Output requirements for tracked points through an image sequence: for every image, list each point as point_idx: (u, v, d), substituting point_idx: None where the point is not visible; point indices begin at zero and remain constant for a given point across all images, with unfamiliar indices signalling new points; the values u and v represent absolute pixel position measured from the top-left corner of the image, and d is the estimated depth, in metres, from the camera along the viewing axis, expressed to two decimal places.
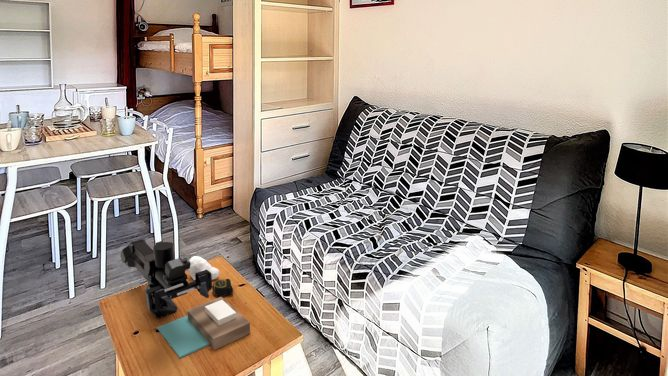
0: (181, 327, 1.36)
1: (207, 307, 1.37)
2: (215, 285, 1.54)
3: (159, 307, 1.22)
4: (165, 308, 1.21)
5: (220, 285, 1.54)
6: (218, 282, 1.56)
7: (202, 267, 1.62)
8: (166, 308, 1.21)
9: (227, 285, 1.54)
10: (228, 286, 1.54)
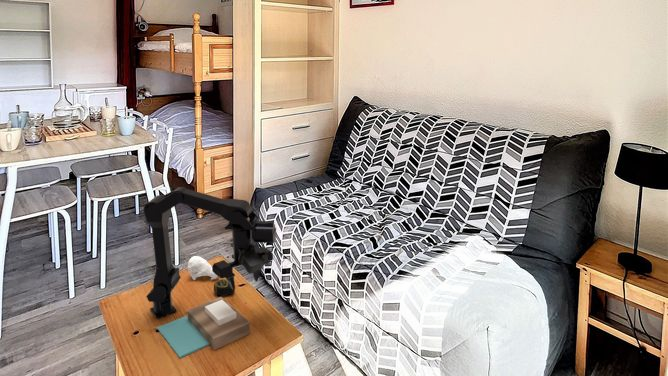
0: (181, 327, 1.36)
1: (207, 307, 1.37)
2: (217, 285, 1.54)
3: None
4: None
5: (222, 284, 1.55)
6: (220, 282, 1.56)
7: (202, 267, 1.62)
8: (226, 278, 1.37)
9: (229, 285, 1.55)
10: (230, 286, 1.54)
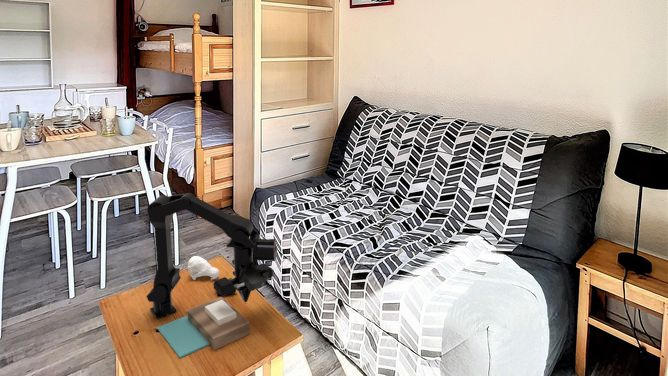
0: (181, 327, 1.36)
1: (207, 307, 1.37)
2: None
3: None
4: None
5: None
6: None
7: (202, 267, 1.62)
8: (238, 290, 1.41)
9: None
10: None
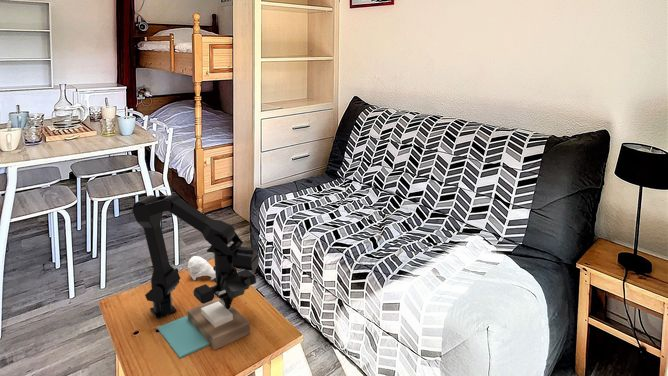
0: (181, 327, 1.36)
1: (203, 309, 1.37)
2: None
3: None
4: None
5: None
6: None
7: (202, 267, 1.62)
8: None
9: None
10: None
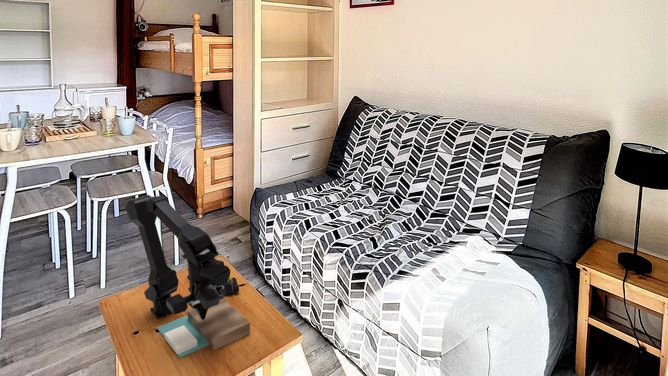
0: None
1: None
2: None
3: None
4: None
5: None
6: None
7: None
8: None
9: (233, 284, 1.55)
10: (234, 285, 1.55)
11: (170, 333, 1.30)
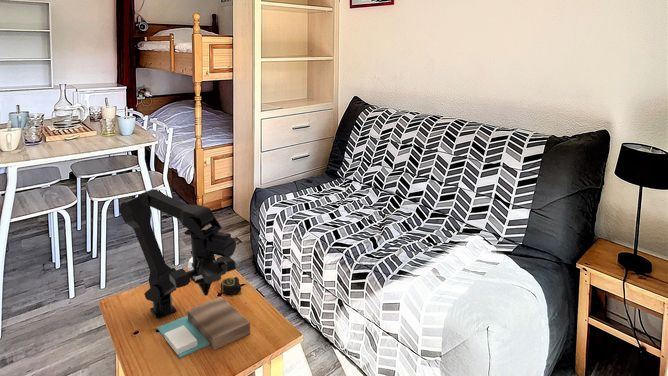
0: None
1: None
2: (223, 283, 1.55)
3: None
4: None
5: (229, 283, 1.56)
6: (226, 280, 1.57)
7: None
8: (197, 283, 1.33)
9: (235, 283, 1.56)
10: (236, 284, 1.55)
11: (170, 333, 1.30)
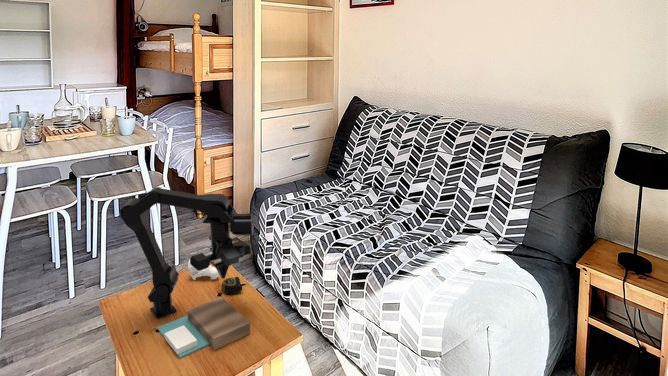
0: None
1: None
2: (224, 283, 1.55)
3: None
4: None
5: (230, 283, 1.56)
6: (227, 280, 1.57)
7: None
8: None
9: (236, 283, 1.56)
10: (237, 284, 1.55)
11: (170, 333, 1.30)
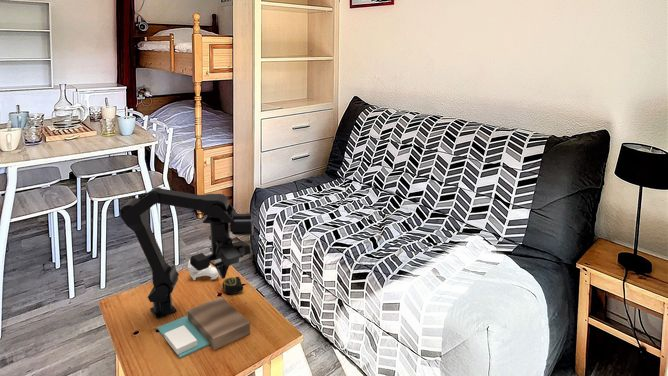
0: None
1: None
2: (225, 283, 1.55)
3: None
4: None
5: (230, 283, 1.56)
6: (228, 280, 1.57)
7: None
8: None
9: (237, 283, 1.56)
10: (238, 284, 1.56)
11: (170, 333, 1.30)
